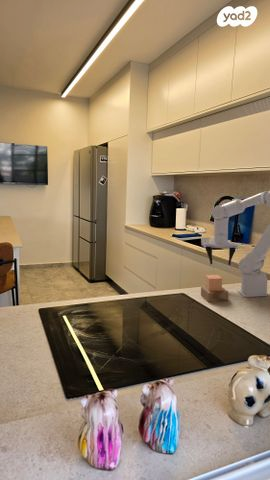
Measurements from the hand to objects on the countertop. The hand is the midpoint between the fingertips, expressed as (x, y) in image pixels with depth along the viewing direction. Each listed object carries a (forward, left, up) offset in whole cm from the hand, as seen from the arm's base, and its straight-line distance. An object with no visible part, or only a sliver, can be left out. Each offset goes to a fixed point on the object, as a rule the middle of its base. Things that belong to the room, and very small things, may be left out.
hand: (220, 264), depth 143 cm
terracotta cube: (+7, +14, -6) cm, 17 cm away
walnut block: (+7, +14, -10) cm, 19 cm away
